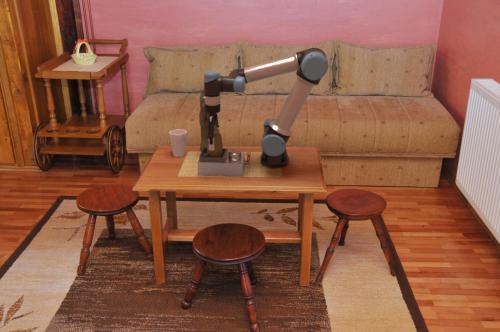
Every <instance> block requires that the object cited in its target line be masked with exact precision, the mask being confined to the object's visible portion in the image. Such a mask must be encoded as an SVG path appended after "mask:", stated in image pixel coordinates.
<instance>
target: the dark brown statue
mask: <svg viewBox="0 0 500 332" xmlns="http://www.w3.org/2000/svg"><path fill="white" fill-rule="evenodd" d="M203 97H205V95H204V90H203V91H201V92H200V96H199V108H200V109H199V110H200V111H199V114H198V118H199V120H198V121H199V126H200V145H199V146H200V153H201V152H202V150H203V148H207V143H208V138H207V136H208V116H209V113H206V112H205V99H204V98H203Z"/></svg>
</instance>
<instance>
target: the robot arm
mask: <svg viewBox="0 0 500 332" xmlns="http://www.w3.org/2000/svg"><path fill="white" fill-rule="evenodd" d="M327 57H328V56H327V54H326V53H325V51H324V50H322V49H321V48H319V47H311V48H310V47H309V48H306V49H304V50H299V51H296V52H295V53H294V54H293V55H290V56H286V57H282V58H278V59H274V60H270V61H266V62H263V63H258V64H255V65H252V66H247V67H244V68H243V67H242V68H234V69H232V70H231V71H230V72H229V74H228V75H227V76H226V75H221V74H220V72H219V71H217V70H209V71H208V70H207V71H205V72H204V73H203V91H204V95H205V97H203V98H204V99H205V112H206V113H209V116H208V136H207V138H208V143H209V150H214V126H215V125H216V126H217V129H219V128H220V125H219V124H220V123H219V117H218V114H219V113H220V112H221V93H235V94H239V93H244V92H246V91H245V90H246V84H249V83H253V82H257V81H260V80H261V81H262V80H265V79H269V78H273V77H278V76H281V75H285V74H289V73H293V72H295V76H296V79H295V81H294V83H293V85H292V87H291V88H290V91H289V93H288V95H287V97H286V98H285V99H284V102H283V105H282V106H281V108H280V110H279V112H278V114H277V115H276V118H271V119H270V118H269V119H266V120H264V122H263V134H262V139H261V141H260V146H261V149H262V151H261V155H260V156H259V157H260V159H259V163H260V165H262V166H264V167H267V168H283V167H286V166H287V165H289V163H290V158H289V153H288V150H287V144H288V142H289V140H290V138H291V135H292V132H291V131H292V130H291V129H292V127H293V126H294V123H295V122H296V120H297V118H298V116H299V115H300V112H301V111H302V109H303V107H304V105H305V103H306V102H307V100H308V97H309V96H310V94H311V91H312V90H313V89H314V87H316V86H317V87H318V86H319V84H320V82H321V80H322V79H323V78H324V76H325V75H326V74H327V73H328V69H329V62H328V58H327ZM210 135H212V136H210Z"/></svg>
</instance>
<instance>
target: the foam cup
mask: <svg viewBox="0 0 500 332" xmlns="http://www.w3.org/2000/svg"><path fill="white" fill-rule="evenodd" d="M168 137H169V141H170V145H171V151H172V155H173V157H177V158H182V157H184V156H185V155H186V147H187V137H188V132H187V130H186V129H183V128H181V129H180V128H178V129H176V128H175V129H172V130H170V131H169V132H168Z"/></svg>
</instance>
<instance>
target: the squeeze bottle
mask: <svg viewBox="0 0 500 332" xmlns="http://www.w3.org/2000/svg"><path fill="white" fill-rule="evenodd" d="M210 136H212V135H210ZM223 148H224V147H223V139H222V134H221V133H220V129H219V128H218V129H217V126H216V125H215V126H214V150H209V143H207V152H208V155H209V157H221V155H222V152H223Z"/></svg>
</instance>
